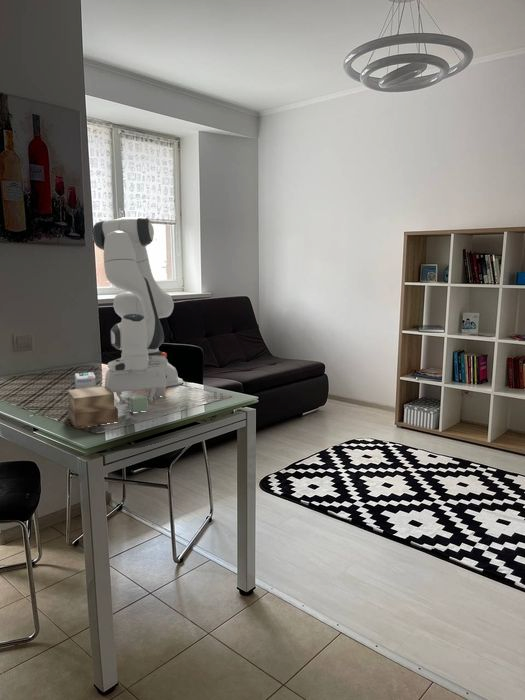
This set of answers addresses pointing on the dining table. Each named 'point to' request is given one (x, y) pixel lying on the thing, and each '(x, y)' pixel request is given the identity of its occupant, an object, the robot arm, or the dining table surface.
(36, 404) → the dining table surface
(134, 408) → the sage block
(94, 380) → the light bulb box
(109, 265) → the robot arm
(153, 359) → the coffee cup
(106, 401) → the oak top block
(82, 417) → the walnut base block
